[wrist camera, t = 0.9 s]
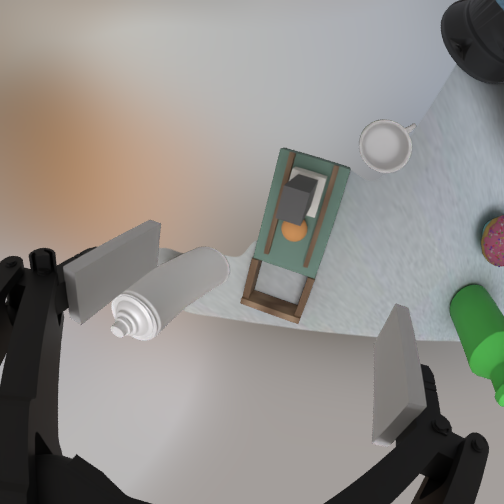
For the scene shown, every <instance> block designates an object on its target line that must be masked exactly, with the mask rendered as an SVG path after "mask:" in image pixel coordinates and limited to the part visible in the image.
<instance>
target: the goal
mask: <svg viewBox="0 0 504 504" xmlns="http://www.w3.org/2000/svg"><path fill="white" fill-rule="evenodd" d="M261 263H262V260H259V259H256V258H252V260H251V264H250V268H249V272H248V276H247V280H246V284H245V288H244V292H243V296H242V298H241V302H240V303H241V304H244V305H246V306H249V307H252V308H255V309H257V310H260V311H263V312H266V313H268V314H271V315H274V316H277V317H279V318H282V319H285V320H288V321H291V322H294V323H297V324H298V323H299V321H300V318H301V315H302V313H303V310H304V307H305V305H306V302H307V299H308V297H309V294H310V291H311V289H312V286H313V283H314V281H315V279H314V278H311V277H308V278H307V281H306V284H305V287H304V289H303V292H302V295H301V298H300V301H299V303H298V305H295V304H292V303H290V302H287V301H284V300H281V299H278V298H275V297H273V296H270V295H267V294H264V293H261V292H259V291H256V290H254V289H255V285H256V281H257V278H258V274H259V270H260V266H261ZM315 277H316V276H315Z"/></svg>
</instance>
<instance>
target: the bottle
mask: <svg viewBox="0 0 504 504" xmlns="http://www.w3.org/2000/svg"><path fill="white" fill-rule="evenodd" d="M450 316H451V318H452V320H453V323H454V325H455V328H456V330H457V333H458V336H459V338H460V341H461V343H462V346H463V349H464V352H465V354H466V357H467V360H468V363H469V366H470V368H471V370H472V372H473V373H475V374H476V375H477V376H481V377H484V378H487V379H490V380H491V381H492V383H493V386H494V389H495V392H496V393H495V399H496V401H497V402H498V404H499V405H500V406H502V407H504V316H503V314H502V313H501V311H500V310H499V308H498V306H497V305H496V303H495V302H494V300H493V299H492V297H491V296H490V295H489V293H488V292H487V290H486V289H485V288H483V287H482V286H479V285H469V286H467V287H465V288H463V289H461V290H460V291H459V292H458V293H457V294H456V295H455V297H454V298H453V300H452V302H451V306H450Z"/></svg>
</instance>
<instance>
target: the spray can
mask: <svg viewBox="0 0 504 504" xmlns="http://www.w3.org/2000/svg"><path fill="white" fill-rule="evenodd" d="M229 274H230V267H229V264H228V261H227V259H226V258H225V257H224V255H223V254H222V253H220V252H219V251H218V250H216V249H214V248H211V247H198V248H196V249H194V250H191V251H189V252H186V253H184V254H182V255H180V256H178V257H176V258H174V259H172V260H170V261H168V262H165V263H163V264H161V265H159V266H157V267H156V268H154V269H153V270H152V271H150V272H149V273H148V274H146V275H145V276H144V277H142V278H141V279H140V280H138V281H137V282H136V283H134V284H133V285H132V286H130V287H129V288H128V289H127V290H125V291H124V292H123V293H121V294H120V295H119V296H117V297H116V298H115V299H114V300H113V301H112V313H113V316H114V318H115V323H114V325H112V327H111V331H112V333H113V334H115V335H116V336H118V337H123V336H124V335H130V336H132V337H133V338H136V339H138V340H143V341H146V340H150V339H152V338H154V337H155V336H157V335H158V334H159V333H160V332H161V331H162V330H163V329H164V328H165V326H167V325H168V323H170V322H171V321H172V320H173V319H174V318H175V317H176V316H177V315H178V314H179V313H180V312H181V311H182V310H184V309H185V308H186V307H187V306H188V305H190V304H191V303H193V302H194V301H196V300H197V299H199V298H200V297H202V296H203V295H205V294H206V293H208V292H209V291H211V290H212V289H214V288H216V287H217V286H219V285H221V284H223V283H224V282H225V281H226V280H227V279H228V277H229Z"/></svg>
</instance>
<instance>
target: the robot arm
mask: <svg viewBox="0 0 504 504" xmlns="http://www.w3.org/2000/svg"><path fill="white" fill-rule="evenodd" d="M441 34H442V38H443V41H444V44H445V46H446V48H447V50H448V52H449V54H450V55H451V57H452V58H453V59H454V61H455V62H456V63H457V64H458V65H459V66H460V67H461V68H462V69H463V70H464V71H465V72H466V73H467V74H469V75H470V76H472V77H473V78H475V79H477V80H479V81H482V82H485V83H491V84H496V83H501V82H504V0H460V1H457V2H455V3H453V4H452V5H451V6H450V7H449V8H448V9H447V10H446V12H445V13H444V15H443V17H442V20H441ZM160 228H161V223H158V222H155V221H152V220H149V221H146V222H144V223H142V224H141V225H139V226H137V227H135V228H133V229H131V230H129V231H127V232H125V233H123V234H121V235H119V236H117V237H115V238H113V239H112V240H110V241H108V242H106V243H104V244H102V245H101V246H99V247H93V248H89V249H86V250H84V251H82V252H81V253H80V254H77V255H75V256H74V257H72V258H70V259H68V260H66V261H64V262H63V263H61V264H59V265H56V255H55V252H54V251H53V250H52V249H48V248H40V249H37V250H34V251H33V252H31V253H30V254H29V261H30V267H31V269H28V268H24V265H23V260H22V259H21V258H20V257H18V256H11V257H10V256H9V257H7V258H5V259H4V260H2V261H1V262H0V365H1V363H2V361H3V359H4V357H5V355H6V359H5V363H4V368H3V374H2V379H1V384H0V504H151V503H148V502H144V501H141V500H137V499H134V498H131V497H129V496H127V495H125V494H124V493H123V492H122V491H121V490H120V489H119V488H118V487H117V486H116V485H115V484H114V483H113V482H112V481H111V480H110V479H109V478H107V476H106V475H105V474H104V473H103V472H102V471H100V470H98V469H97V468H96V467H94V466H93V465H91V464H89V463H88V462H87V461H85V460H84V459H82V458H81V457H79V456H78V455H77V454H76V456H75V457H74V458H73V459H71V458H68V457H65V456H63V455H62V451H61V448H60V445H59V439H58V381H59V363H60V350H61V339H62V330H63V322H64V314H63V311H65V310H66V309H67V308H69V315H70V318H71V319H73V320H74V321H76V322H77V323H79V324H81V325H82V324H83V323H84V322H86V321H87V320H88V319H89V318H91V317H92V316H93V315H95V314H96V313H97V312H98V311H99V310H101V309H102V308H103V307H105V306H106V305H107V304H108V303H110V302H111V301H112V300H114V299H115V298H116V297H117V296H119V295H120V294H121V293H123V292H124V291H125V290H127V289H128V288H129V287H130V286H132V285H133V284H134V283H136V282H137V281H138V280H140V279H141V278H142V277H144V276H145V275H146V274H148V273H149V272H150V271H152V270H153V269H154V268H156V267H157V263H158V251H159V239H160ZM6 298H7V301H6V303H5V300H6ZM6 353H7V354H6ZM372 431H373V432H372V444H375V445H380V446H385V447H389V446H390V445H391V444H392V443H393V442H394V440H396V447H395V448H394V449H393V450H392V451H391V452H390V453H389V454H387V455H386V456H385V457H384V458H383V459H382V460H381V461H380V462H378V463H377V464H376V465H375V466H373V467H372V468H371V469H370V470H369V471H368V472H366V473H365V474H364V475H363V476H361V477H360V478H359V479H357V480H356V481H355V482H353V483H352V484H351V485H350V486H348V487H347V488H346V489H344V490H343V491H341V492H340V493H338V494H337V495H336V496H334V497H333V498H331V499H330V500H328V501H327V502H325V503H324V504H390V503H392V502H393V501H394V500H395V499H396V498H397V497H398V496H399V495H400V494H401V493H402V492H403V491H404V490H405V489H406V488H407V487H408V486H409V485H410V483H411V482H412V481H413V480H414V479H415V478H416V477H417V476H418V475H419V474H422V475H424V476H425V478H424V480H423V482H422V484H421V486H420V488H419V490H418V491H417V493H416V495H415V497H414V499H413V501H412V503H411V504H474V503H475V499H476V496H477V493H478V490H479V487H480V484H481V480H482V477H483V473H484V469H485V465H486V461H487V457H488V453H489V446H488V443H487V441H486V439H485V438H484V437H483V436H482V435H481V434H479V433H471V434H469V435H468V436H467V437H466V438H462V437H461V436H459V435H457V434H455V433H453V432H452V427H451V425H450V422H449V421H448V420H447V419H446V418H445V417H444V416H442V415H441V414H440V408H439V401H438V396H437V392H436V385H435V380H434V375H433V373H432V371H431V370H430V368H429V366H426V365H423V364H420V360H419V355H418V349H417V344H416V339H415V335H414V330H413V325H412V321H411V317H410V313H409V308H407V307H405V306H402V305H399V304H395V306H394V308H393V310H392V311H391V313H390V315H389V317H388V319H387V321H386V323H385V325H384V327H383V328H382V330H381V332H380V334H379V336H378V337H377V339H376V341H375V343H374V408H373V430H372Z"/></svg>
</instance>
